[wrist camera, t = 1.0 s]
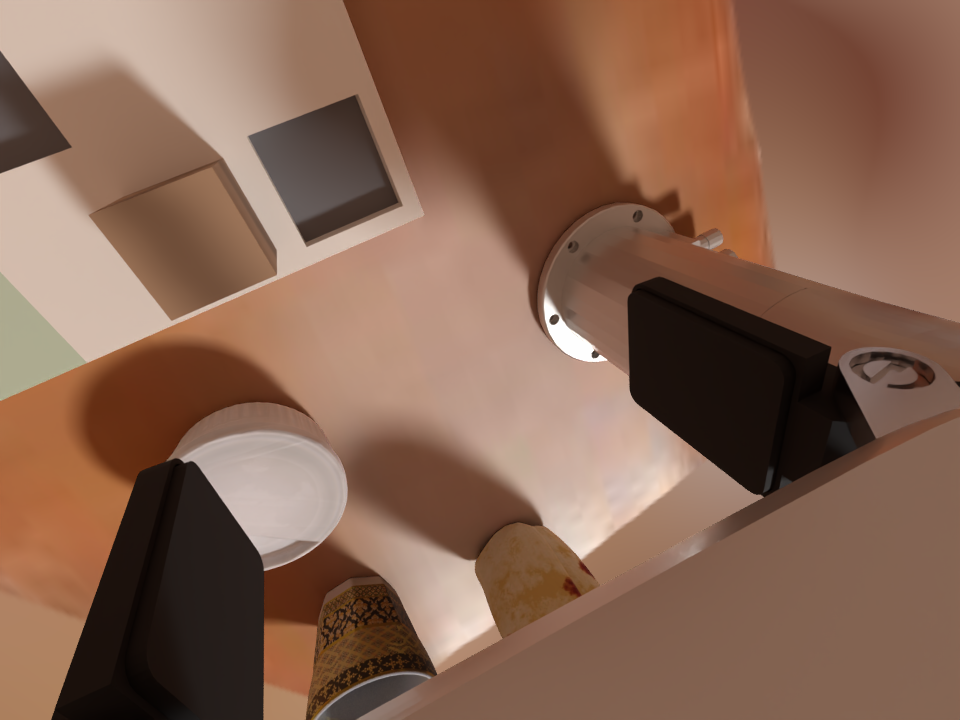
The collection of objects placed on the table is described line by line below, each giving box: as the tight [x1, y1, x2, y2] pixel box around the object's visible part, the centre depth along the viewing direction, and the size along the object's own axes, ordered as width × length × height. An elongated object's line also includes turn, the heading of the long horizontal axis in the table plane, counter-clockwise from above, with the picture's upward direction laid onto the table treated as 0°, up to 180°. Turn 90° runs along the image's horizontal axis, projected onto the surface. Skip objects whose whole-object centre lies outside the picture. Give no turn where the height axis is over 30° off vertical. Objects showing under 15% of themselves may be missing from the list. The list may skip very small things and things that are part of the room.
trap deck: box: [0, 0, 424, 401], centre depth 22 cm, size 28×16×2 cm, turn 108°
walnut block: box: [89, 158, 277, 321], centre depth 22 cm, size 5×5×5 cm
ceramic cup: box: [306, 576, 437, 720], centre depth 39 cm, size 13×10×10 cm
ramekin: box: [165, 402, 347, 571], centre depth 31 cm, size 11×11×5 cm
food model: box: [475, 522, 600, 638], centre depth 38 cm, size 10×7×20 cm
